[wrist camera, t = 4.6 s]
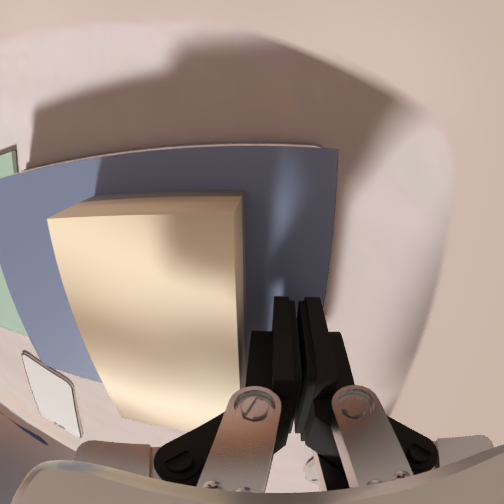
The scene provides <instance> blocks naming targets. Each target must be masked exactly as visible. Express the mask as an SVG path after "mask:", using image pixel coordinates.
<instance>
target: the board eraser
mask: <svg viewBox="0 0 504 504" xmlns="http://www.w3.org/2000/svg"><path fill="white" fill-rule="evenodd" d="M47 222H48V227H49V232H50V237H51V241H52V245H53V250H54V254H55V257H56V261H57V265H58V269H59V272H60V276H61V279H62V282H63V286H64V289H65V292H66V295H67V298H68V301H69V304H70V307H71V310H72V312H73V315H74V318H75V321H76V323H77V326H78V328H79V331H80V333H81V336H82V338H83V341H84V343H85V346H86V348H87V350H88V352H89V355H90V357H91V359H92V361H93V364H94V366H95V368H96V370H97V372H98V374H99V376H100V378H101V380H102V382H103V384H104V386H105V388H106V390H107V392H108V394H109V396H110V397H111V399H112V401H113V403H114V405H115V407H116V408H117V410H118V412H119V414H120V415H121V417H122V418H126V419H130V420H134V421H138V422H142V423H147V424H151V425H156V426H161V427H166V428H171V429H177V430H183V431H192V430H193V429H195V428H197V427H199V426H201V425H202V424H204V423H206V422H208V421H210V420H211V419H213V418H215V417H216V416H218V415H220V414H221V413H223V412H225V410H226V407H227V404H228V402H229V400H230V398H231V396H232V395H233V394H234V393H235V392H236V391H238V390H240V389H242V388H244V387H245V384H246V375H247V320H246V252H245V190H191V191H160V192H140V193H123V194H108V195H96V196H92V197H90V198H88V199H86V200H84V201H82V202H80V203H77V204H75V205H73V206H71V207H69V208H67V209H65V210H63V211H61V212H59V213H57V214H55V215H53V216H51V217H49V218H47Z"/></svg>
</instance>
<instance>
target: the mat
mask: <svg viewBox="0 0 504 504" xmlns="http://www.w3.org/2000/svg"><path fill="white" fill-rule="evenodd" d="M15 173H18V172H17V162H16V150H15V151H11V152H8V153H6V154H3V155H0V178H3V177H6V176H9V175H12V174H15ZM0 327H2V328H5V329H8V330H10V331H13V332H16V333H19V334H22V335H25V336H28V334H27V332H26V330H25V328H24V326H23V323H22V321H21V319H20V317H19V314H18V312H17V310H16V307H15V305H14V302H13V300H12V297H11V294H10V292H9V289H8V286H7V284H6V281H5V278H4V275H3V272H2V269H1V266H0ZM28 337H29V336H28Z"/></svg>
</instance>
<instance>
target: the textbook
mask: <svg viewBox="0 0 504 504" xmlns="http://www.w3.org/2000/svg"><path fill="white" fill-rule="evenodd" d="M337 172H338V149H332V148H321V145H318V144H299V143H259V142H248V143H208V144H189V145H175V146H163V147H152V148H143V149H134V150H126V151H118V152H111V153H105V154H98V155H92V156H86V157H81V158H75V159H70V160H65V161H60V162H55V163H51V164H46V165H42V166H38V167H33V168H29V169H25V170H22V172H19V173H15V174H12V175H9V176H6V177H3V178H0V266H1V269H2V272H3V275H4V278H5V281H6V284H7V286H8V289H9V292H10V294H11V297H12V300H13V302H14V305H15V307H16V310H17V312H18V314H19V317H20V319H21V321H22V323H23V326H24V328H25V330H26V332H27V334H28V336H29V338H30V340H31V342H32V344H33V346H34V348H35V350H36V352H37V354H38V356H39V358H40V360H41V361H42V363H43V365H46V366H49V367H52V368H55V369H58V370H60V371H64V372H67V373H70V374H73V375H76V376H79V377H83V378H86V379H90V380H93V381H97V382H101V383H103V382H102V380H101V378H100V376H99V374H98V372H97V370H96V368H95V366H94V364H93V361H92V359H91V357H90V355H89V352H88V350H87V348H86V346H85V343H84V341H83V338H82V336H81V333H80V331H79V328H78V326H77V323H76V321H75V318H74V315H73V312H72V310H71V307H70V304H69V301H68V298H67V295H66V292H65V289H64V286H63V282H62V279H61V276H60V272H59V269H58V265H57V261H56V257H55V254H54V250H53V245H52V241H51V237H50V232H49V227H48V222H47V218H49V217H51V216H53V215H55V214H57V213H59V212H61V211H63V210H65V209H67V208H69V207H71V206H73V205H75V204H77V203H80V202H82V201H84V200H86V199H88V198H90V197H92V196H96V195H108V194H123V193H140V192H160V191H191V190H245V252H246V320H247V366H248V357H249V348H250V339H251V331H252V330H253V331H272V320H273V304H274V296H289V300H294V301H295V308H296V317H297V310H298V302H299V301H304V298H305V297H320V299H321V303H322V307H324V300H325V293H326V286H327V279H328V271H329V263H330V254H331V245H332V236H333V225H334V214H335V202H336V188H337Z"/></svg>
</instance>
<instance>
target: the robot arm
mask: <svg viewBox="0 0 504 504" xmlns="http://www.w3.org/2000/svg"><path fill="white" fill-rule="evenodd" d="M293 421H295V433H301V441H305V445H307V446H308V447H310V448H311V449H312V450H313V457H314V458H313V459H312V460H311V461H310V462H308V463H307V465H306V466H305V470H304V474H305V478H306V479H307V480H308V481H310V482H312V483H315V484H319V492H307V493H265V490H266V486H267V482H268V478H269V473H270V469H271V465H272V460H273V455H274V454H275V453H276V452H277V451H278V450H280V449H281V448H282V447H284V446H285V445H286V441H287V437H288V433H291V430H292V426H293ZM11 504H504V445H500V446H497V447H493V444H492V441H491V440H490V439H489V438H488V437H486V436H484V435H475V436H466V437H456V438H441V439H440V438H439V439H437V440H436V441H431V440H430V439H429V438H427V437H425V436H423V435H421V434H419V433H418V432H416V431H414V430H412V429H410V428H408V427H406V426H405V425H403V424H401V423H399V422H397V421H395V420H394V419H392V418H390V417H389V416H387V415H386V413H385V411H384V409H383V407H382V405H381V403H380V401H379V399H378V397H377V396H376V394H375V393H374V392H372V391H371V390H370V389H368V388H366V387H363V386H358V385H355V384H354V380H353V376H352V372H351V369H350V365H349V361H348V357H347V353H346V350H345V346H344V343H343V339H342V336H341V333H340V332H328V328H327V324H326V320H325V316H324V311H323V307H322V303H321V299H320V297H305V298H304V301H299V302H298V310H297V317H296V308H295V301H294V300H289V296H274V304H273V320H272V331H253V330H252V331H251V339H250V348H249V357H248V366H247V375H246V384H245V387H244V388H242V389H240V390H238V391H236V392H235V393H234V394H233V395H232V396H231V398H230V400H229V402H228V404H227V407H226V410H225V412H223V413H221V414H220V415H218V416H216V417H215V418H213V419H211V420H210V421H208V422H206V423H204V424H202V425H201V426H199V427H197V428H195V429H193V430H192V431H190V432H188V433H186V434H184V435H182V436H180V437H178V438H176V439H174V440H173V441H171V442H169V443H167V444H165V445H163V446H162V447H151V446H150V445H149V444H128V443H115V442H105V441H96V440H93V441H87V442H84V443H82V444H81V445H80V446H79V447H78V448H77V451H76V454H75V458H74V461H71V460H55V461H48V462H43V463H41V464H39V465H37V466H36V467H34V468H33V469H32V470H31V471H30V472H29V473H28V474H27V476H26V477H25V479H24V480H23V482H22V483H21V485H20V486H19V488H18V490H17V492H16V494H15V495H14V498H13V500H12V502H11Z"/></svg>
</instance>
